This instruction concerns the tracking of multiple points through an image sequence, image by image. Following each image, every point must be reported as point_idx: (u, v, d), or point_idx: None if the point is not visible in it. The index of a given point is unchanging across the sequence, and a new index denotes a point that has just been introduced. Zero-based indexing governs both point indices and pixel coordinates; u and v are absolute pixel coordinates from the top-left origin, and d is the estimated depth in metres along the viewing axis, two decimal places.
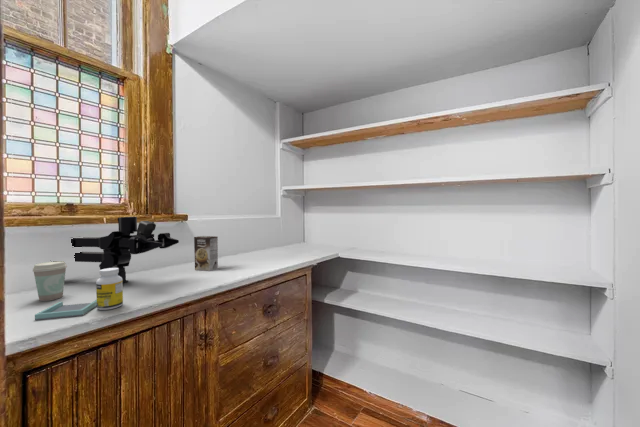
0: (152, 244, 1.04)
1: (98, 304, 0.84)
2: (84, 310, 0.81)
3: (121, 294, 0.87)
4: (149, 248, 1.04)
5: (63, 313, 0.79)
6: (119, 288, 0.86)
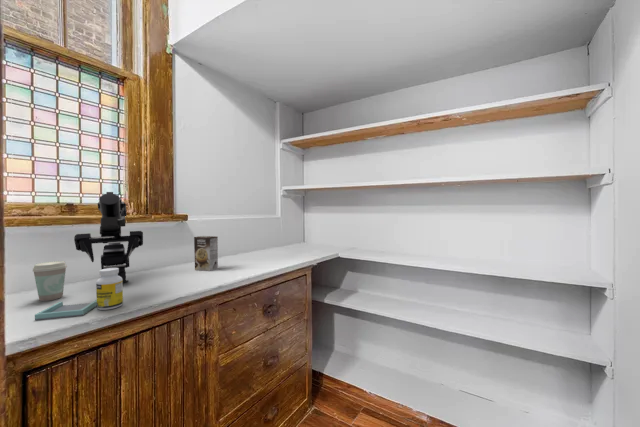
0: (88, 253, 0.91)
1: (98, 304, 0.84)
2: (84, 310, 0.81)
3: (121, 294, 0.87)
4: (88, 254, 0.93)
5: (63, 313, 0.79)
6: (119, 288, 0.86)
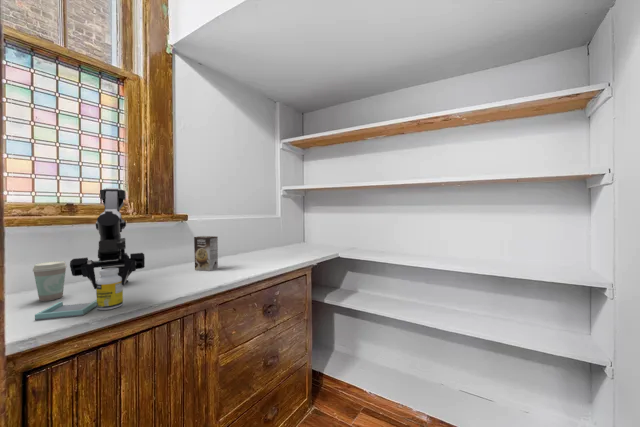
0: (90, 280, 0.84)
1: (98, 304, 0.84)
2: (84, 310, 0.81)
3: (121, 294, 0.87)
4: (90, 279, 0.86)
5: (63, 313, 0.79)
6: (119, 288, 0.86)
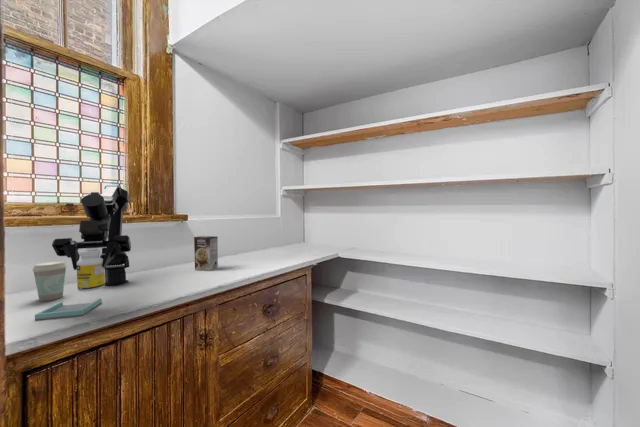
0: (72, 260, 0.83)
1: (78, 286, 0.82)
2: (84, 310, 0.81)
3: (101, 276, 0.85)
4: None
5: (63, 313, 0.79)
6: (98, 270, 0.84)
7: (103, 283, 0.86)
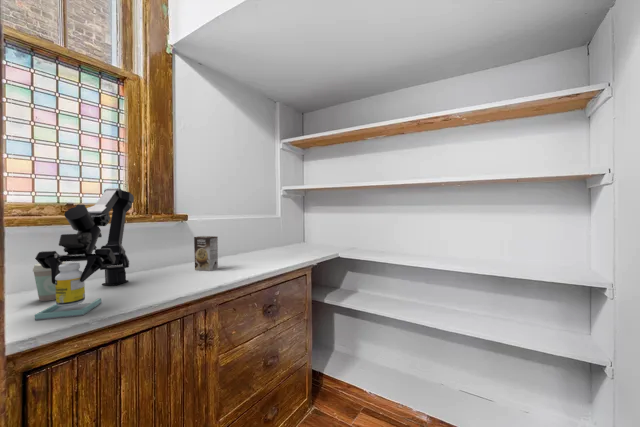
0: None
1: (56, 300, 0.81)
2: (84, 310, 0.81)
3: (79, 291, 0.83)
4: None
5: (63, 313, 0.79)
6: (75, 284, 0.82)
7: (81, 298, 0.84)
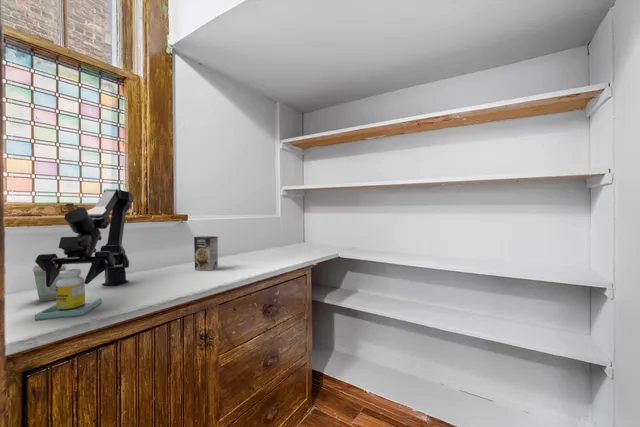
0: None
1: (56, 307, 0.81)
2: (84, 310, 0.81)
3: (79, 297, 0.83)
4: None
5: (63, 313, 0.79)
6: (76, 291, 0.82)
7: (82, 304, 0.84)
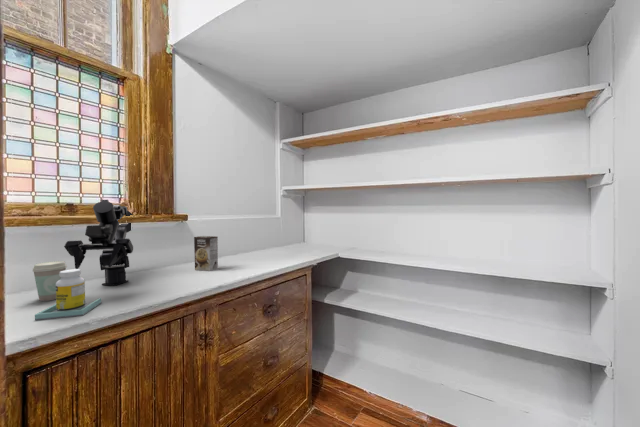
0: None
1: (56, 306, 0.81)
2: (84, 310, 0.81)
3: (79, 297, 0.83)
4: None
5: (63, 313, 0.79)
6: (76, 291, 0.82)
7: (82, 304, 0.84)
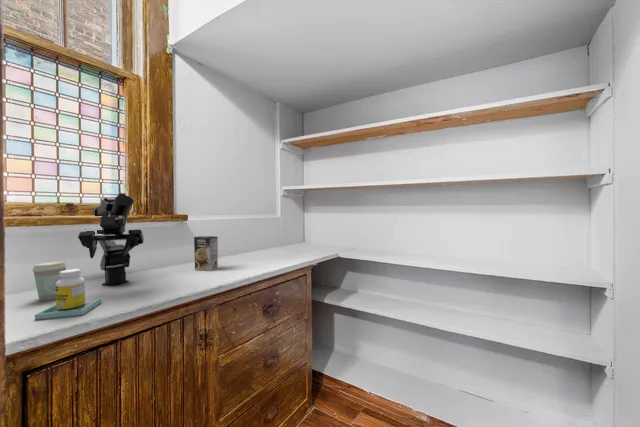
0: None
1: (56, 307, 0.81)
2: (84, 310, 0.81)
3: (79, 297, 0.83)
4: None
5: (63, 313, 0.79)
6: (76, 291, 0.82)
7: (82, 304, 0.84)
